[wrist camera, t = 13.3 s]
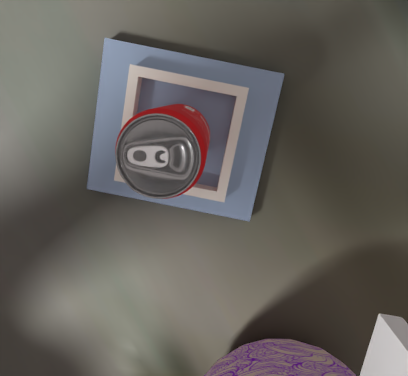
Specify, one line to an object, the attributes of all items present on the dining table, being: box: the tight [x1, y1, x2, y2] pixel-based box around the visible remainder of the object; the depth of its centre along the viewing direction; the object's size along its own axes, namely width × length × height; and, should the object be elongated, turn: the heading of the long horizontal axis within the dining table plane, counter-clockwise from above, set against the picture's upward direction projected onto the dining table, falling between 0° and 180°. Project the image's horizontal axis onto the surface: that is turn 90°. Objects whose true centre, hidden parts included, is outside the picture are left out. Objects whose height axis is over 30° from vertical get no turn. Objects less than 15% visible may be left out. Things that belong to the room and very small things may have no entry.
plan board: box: [87, 38, 285, 221], centre depth 31 cm, size 15×13×3 cm
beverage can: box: [115, 104, 210, 199], centre depth 26 cm, size 5×5×12 cm
